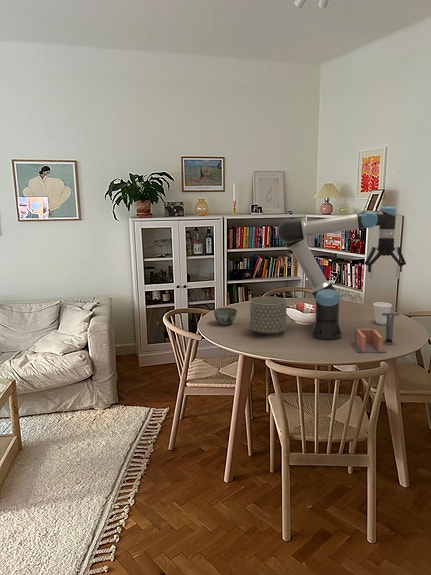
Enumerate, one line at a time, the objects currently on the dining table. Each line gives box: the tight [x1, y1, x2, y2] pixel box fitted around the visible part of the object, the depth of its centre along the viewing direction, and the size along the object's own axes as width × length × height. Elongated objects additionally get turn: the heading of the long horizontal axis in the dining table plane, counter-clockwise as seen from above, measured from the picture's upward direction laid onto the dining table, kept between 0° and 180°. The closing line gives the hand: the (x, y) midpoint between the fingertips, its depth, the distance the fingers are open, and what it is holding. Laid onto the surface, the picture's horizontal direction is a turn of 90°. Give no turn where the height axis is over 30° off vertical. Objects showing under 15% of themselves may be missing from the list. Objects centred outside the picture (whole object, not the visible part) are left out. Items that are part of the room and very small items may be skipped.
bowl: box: [213, 307, 238, 326], centre depth 244 cm, size 14×13×8 cm
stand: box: [382, 312, 400, 345], centre depth 204 cm, size 8×4×15 cm, turn 86°
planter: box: [249, 295, 288, 336], centre depth 223 cm, size 19×19×18 cm
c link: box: [354, 328, 384, 352], centre depth 198 cm, size 9×13×7 cm
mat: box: [350, 341, 387, 354], centre depth 199 cm, size 13×13×1 cm
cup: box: [372, 302, 393, 325], centre depth 238 cm, size 10×10×11 cm
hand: (384, 278), depth 218 cm, fingers open, 13 cm apart
